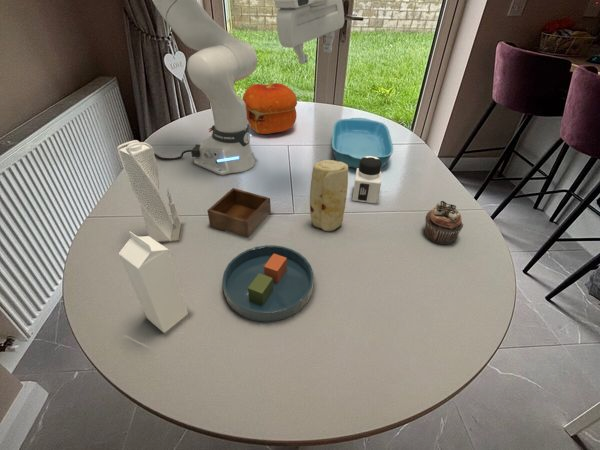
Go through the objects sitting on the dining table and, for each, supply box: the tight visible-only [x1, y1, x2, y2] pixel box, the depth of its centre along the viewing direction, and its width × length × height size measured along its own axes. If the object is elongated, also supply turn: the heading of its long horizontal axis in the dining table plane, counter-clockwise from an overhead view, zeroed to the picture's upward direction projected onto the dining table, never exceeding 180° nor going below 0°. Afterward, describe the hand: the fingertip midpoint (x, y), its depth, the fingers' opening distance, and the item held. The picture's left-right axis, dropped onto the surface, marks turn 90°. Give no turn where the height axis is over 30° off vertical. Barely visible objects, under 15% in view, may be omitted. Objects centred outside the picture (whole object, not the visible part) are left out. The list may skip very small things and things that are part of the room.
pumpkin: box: [242, 81, 298, 135], centre depth 141 cm, size 23×23×20 cm
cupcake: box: [424, 200, 464, 245], centre depth 89 cm, size 10×10×10 cm
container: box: [351, 156, 383, 204], centre depth 103 cm, size 8×8×13 cm
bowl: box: [221, 244, 315, 323], centre depth 76 cm, size 20×20×4 cm
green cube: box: [248, 273, 273, 305], centre depth 73 cm, size 4×5×4 cm
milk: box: [118, 231, 189, 334], centre depth 63 cm, size 6×6×22 cm
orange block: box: [264, 254, 287, 283], centre depth 78 cm, size 4×5×4 cm
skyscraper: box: [116, 139, 182, 244], centre depth 81 cm, size 8×8×28 cm
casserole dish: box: [331, 117, 394, 169], centre depth 129 cm, size 37×22×7 cm, turn 174°
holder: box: [207, 187, 272, 238], centre depth 94 cm, size 13×13×6 cm
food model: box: [309, 159, 349, 232], centre depth 88 cm, size 10×7×20 cm
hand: (316, 57), depth 84 cm, fingers open, 8 cm apart
